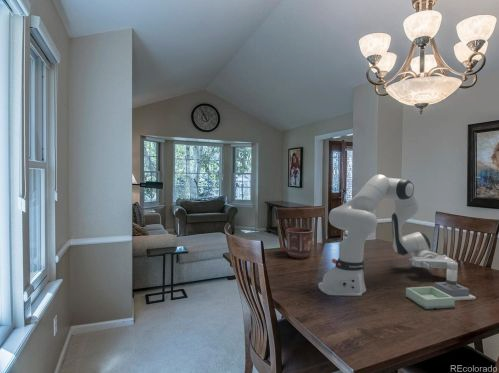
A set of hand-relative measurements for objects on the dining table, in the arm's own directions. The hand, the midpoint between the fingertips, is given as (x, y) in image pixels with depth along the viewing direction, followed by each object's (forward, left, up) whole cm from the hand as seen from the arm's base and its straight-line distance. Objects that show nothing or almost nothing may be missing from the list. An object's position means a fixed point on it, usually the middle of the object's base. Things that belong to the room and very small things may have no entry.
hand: (439, 267), depth 152 cm
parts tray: (-19, -17, -9) cm, 27 cm away
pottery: (-54, +60, -9) cm, 81 cm away
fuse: (-3, -11, -8) cm, 14 cm away
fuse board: (-3, -11, -9) cm, 15 cm away
